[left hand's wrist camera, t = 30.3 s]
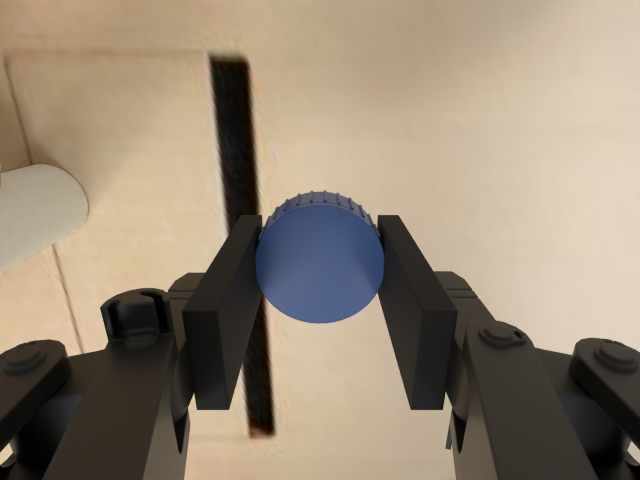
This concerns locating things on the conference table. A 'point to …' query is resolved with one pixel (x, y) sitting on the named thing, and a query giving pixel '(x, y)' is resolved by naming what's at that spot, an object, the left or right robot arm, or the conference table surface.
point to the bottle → (37, 211)
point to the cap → (319, 258)
